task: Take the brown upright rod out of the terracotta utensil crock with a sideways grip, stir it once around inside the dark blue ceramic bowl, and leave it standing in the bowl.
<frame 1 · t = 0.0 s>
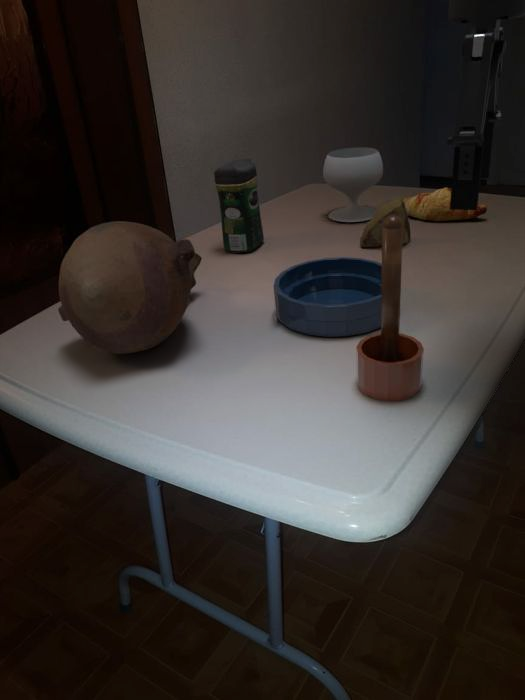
hand: (470, 192, 65), 23 cm above the table, tool pointing down, fingers open, 13 cm apart
coffee jar: (244, 247, 124), on the table
croissant: (438, 217, 130), on the table
chalice: (353, 216, 137), on the table
rock: (384, 244, 118), on the table
jug: (154, 328, 94), on the table
bowl: (336, 313, 92), on the table
crock: (388, 387, 72), on the table
brown upright rod: (388, 382, 71), point 1 cm above the table, touching crock
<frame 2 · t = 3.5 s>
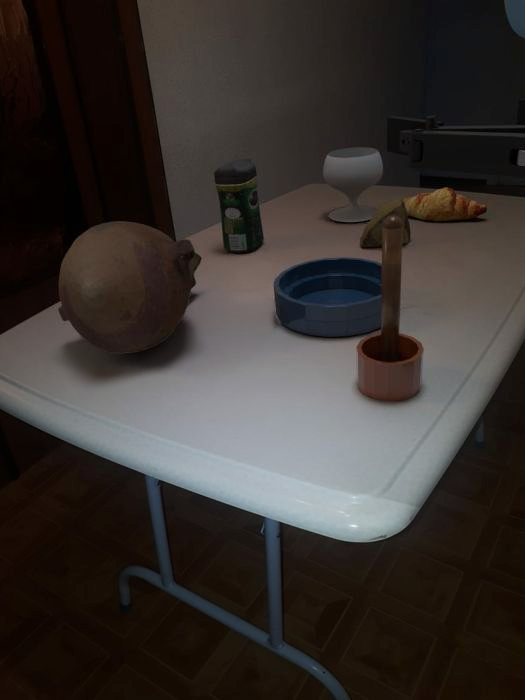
hand: (457, 124, 49), 33 cm above the table, tool horizontal, fingers open, 13 cm apart
nothing on the table moved.
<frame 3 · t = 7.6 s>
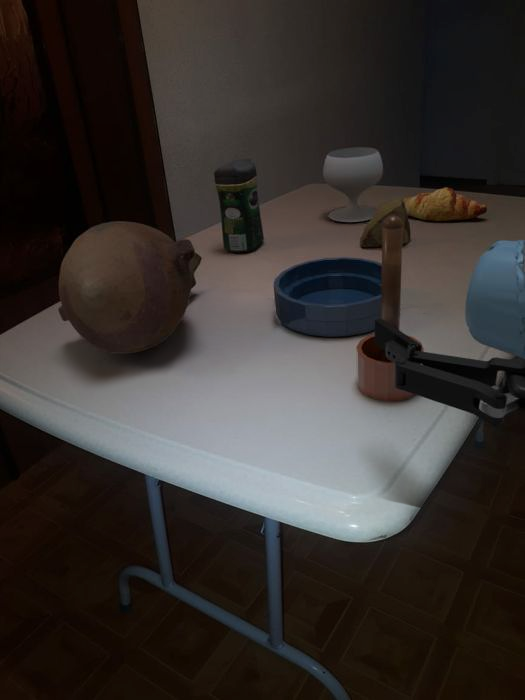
hand: (432, 314, 59), 14 cm above the table, tool horizontal, fingers open, 13 cm apart
nothing on the table moved.
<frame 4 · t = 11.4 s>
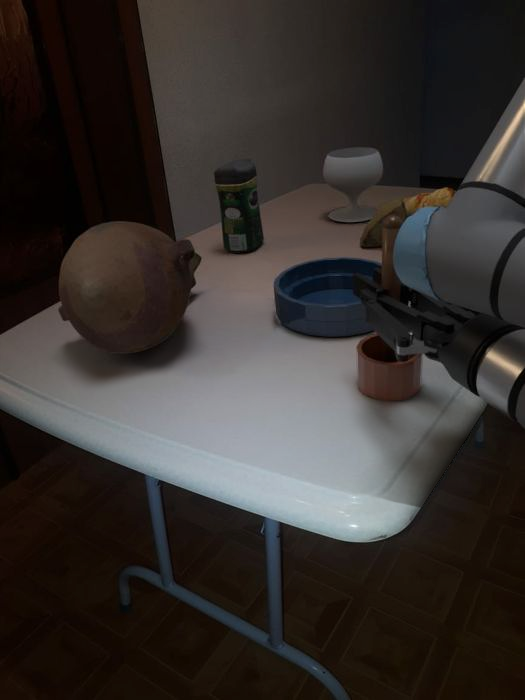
hand: (365, 280, 70), 13 cm above the table, tool horizontal, fingers closed on brown upright rod, 2 cm apart
brown upright rod: (388, 382, 71), point 1 cm above the table, touching crock, gripper
everything else where it was.
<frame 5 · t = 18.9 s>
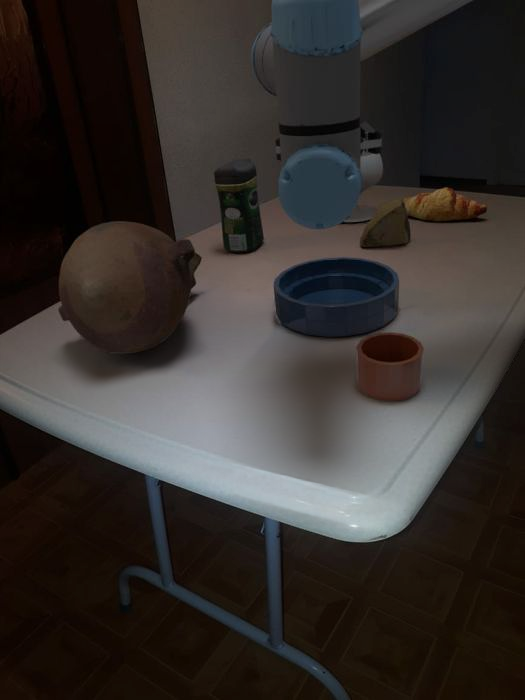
hand: (332, 125, 82), 28 cm above the table, tool horizontal, fingers closed on brown upright rod, 2 cm apart
brown upright rod: (333, 217, 84), point 16 cm above the table, touching gripper
everything else where it was.
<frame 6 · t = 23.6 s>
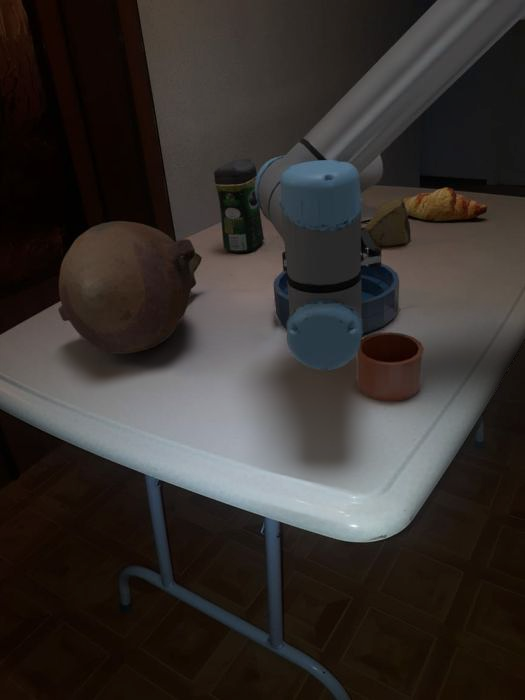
hand: (334, 221, 87), 14 cm above the table, tool horizontal, fingers closed on brown upright rod, 2 cm apart
brown upright rod: (336, 307, 89), point 2 cm above the table, touching gripper
everything else where it was.
when the fingers open (13 cm above the table, at t = 26.8 s): brown upright rod stays where it is, resting on bowl.
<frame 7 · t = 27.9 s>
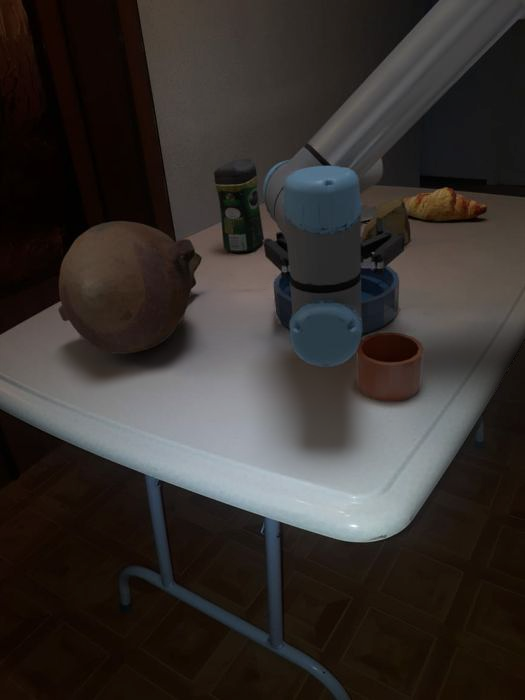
hand: (334, 228, 88), 13 cm above the table, tool horizontal, fingers open, 13 cm apart
brown upright rod: (335, 307, 91), point 1 cm above the table, touching bowl
everything else where it was.
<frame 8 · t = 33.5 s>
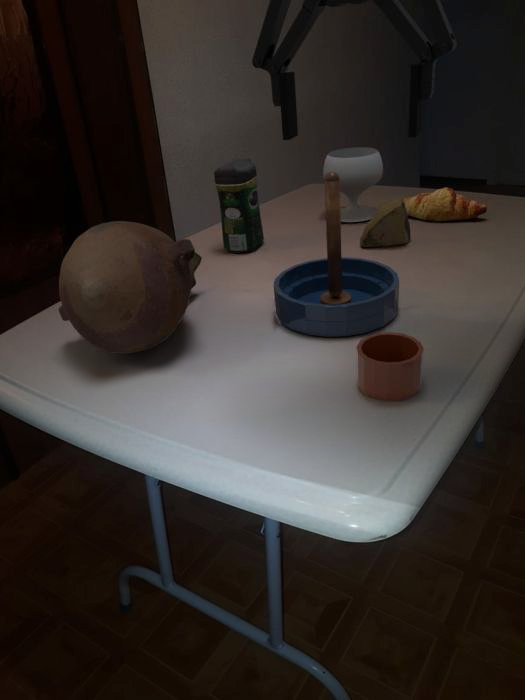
hand: (349, 136, 59), 31 cm above the table, tool pointing down, fingers open, 13 cm apart
nothing on the table moved.
at the end: brown upright rod inside the target area in the bowl (0.0 cm from its centre), point 1.0 cm above the bowl's base; brown upright rod tilted 0°; brown upright rod moved 23.0 cm from its start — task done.
